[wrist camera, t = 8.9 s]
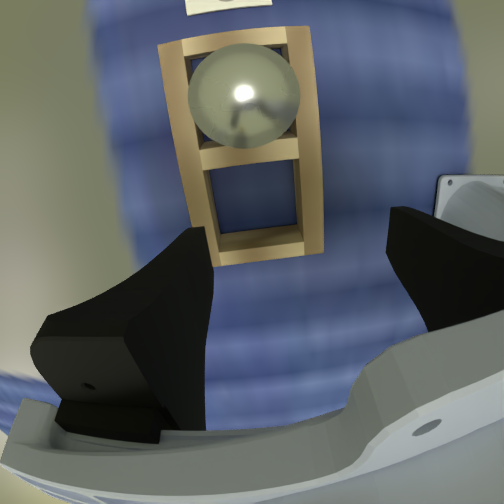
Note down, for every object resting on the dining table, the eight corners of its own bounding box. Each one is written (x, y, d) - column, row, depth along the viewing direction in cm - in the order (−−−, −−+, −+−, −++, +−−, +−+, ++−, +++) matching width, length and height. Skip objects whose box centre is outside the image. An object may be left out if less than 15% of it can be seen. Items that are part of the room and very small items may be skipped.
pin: (272, 58, 16) (296, 41, 9) (276, 120, 18) (302, 145, 11) (205, 64, 16) (182, 50, 9) (211, 126, 18) (195, 154, 11)
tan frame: (300, 32, 15) (309, 26, 13) (315, 234, 22) (323, 252, 20) (167, 49, 15) (157, 45, 13) (205, 248, 22) (201, 268, 20)
